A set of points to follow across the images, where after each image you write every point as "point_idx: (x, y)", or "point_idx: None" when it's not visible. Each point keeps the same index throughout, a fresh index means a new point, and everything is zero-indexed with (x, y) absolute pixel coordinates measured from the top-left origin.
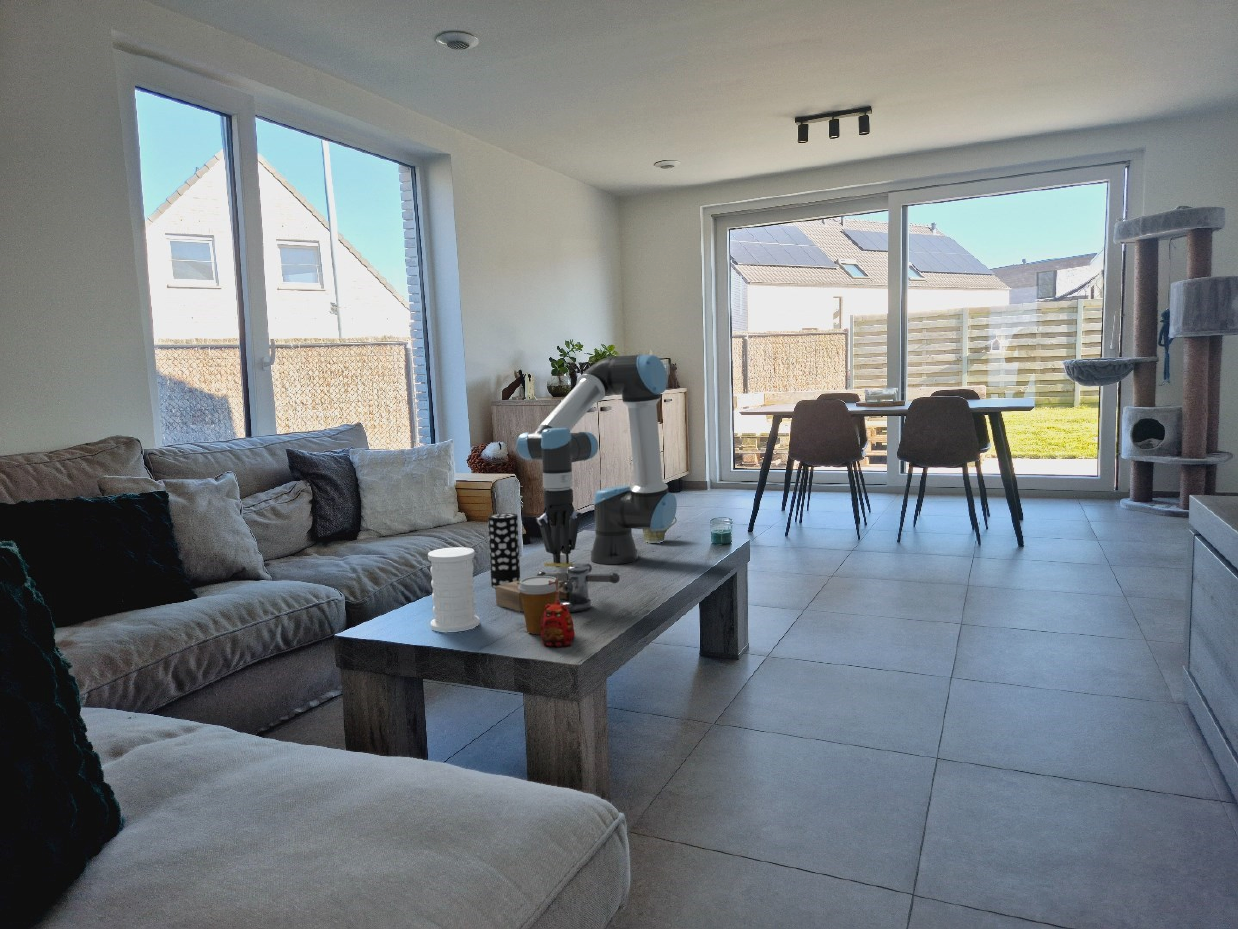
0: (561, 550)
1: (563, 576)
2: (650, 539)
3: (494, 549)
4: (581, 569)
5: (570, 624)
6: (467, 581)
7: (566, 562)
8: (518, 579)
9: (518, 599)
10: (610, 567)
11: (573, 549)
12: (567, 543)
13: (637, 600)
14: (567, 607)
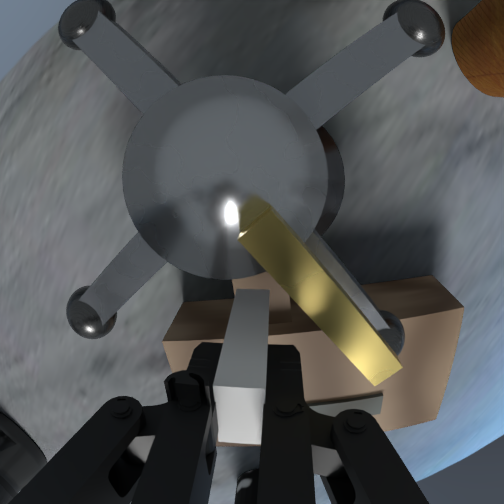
0: (215, 446)
1: (313, 231)
2: None
3: None
4: (246, 78)
5: None
6: None
7: (211, 355)
8: (253, 482)
9: (451, 297)
10: (20, 416)
11: (124, 398)
12: (167, 460)
13: (42, 119)
14: (327, 134)
